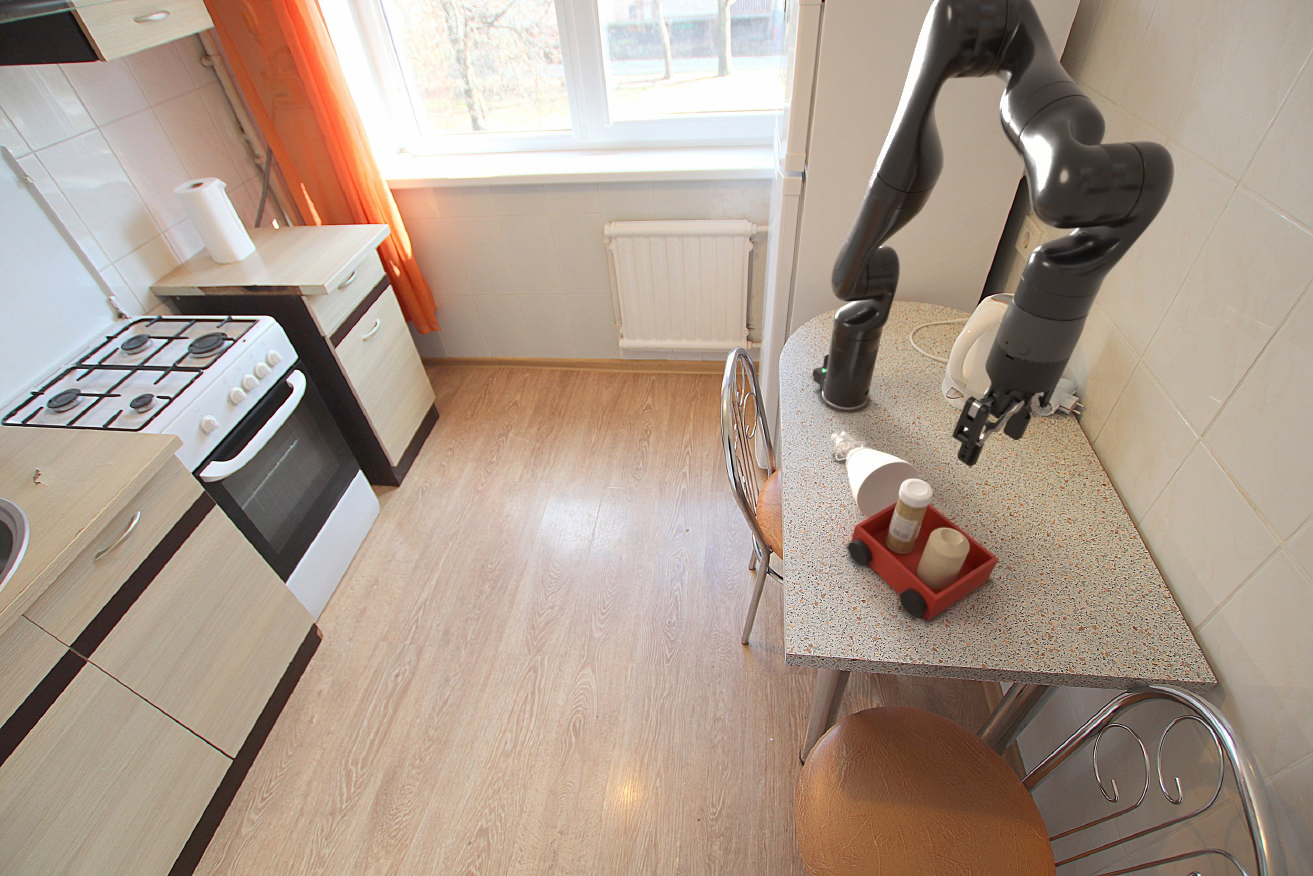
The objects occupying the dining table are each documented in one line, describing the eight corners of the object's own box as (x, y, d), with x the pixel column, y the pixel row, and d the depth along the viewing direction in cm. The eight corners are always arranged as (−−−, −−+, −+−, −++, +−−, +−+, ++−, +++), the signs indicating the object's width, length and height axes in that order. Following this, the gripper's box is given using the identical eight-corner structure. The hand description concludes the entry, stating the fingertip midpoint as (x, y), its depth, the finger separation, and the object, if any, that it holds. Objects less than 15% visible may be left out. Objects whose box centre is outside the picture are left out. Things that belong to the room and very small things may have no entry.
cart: (849, 547, 102) (855, 525, 98) (907, 514, 106) (914, 492, 102) (927, 621, 91) (936, 599, 87) (987, 580, 95) (999, 558, 92)
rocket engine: (840, 403, 114) (890, 450, 98) (881, 430, 119) (934, 479, 103) (801, 450, 117) (843, 503, 102) (842, 474, 122) (888, 529, 107)
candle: (959, 574, 96) (978, 533, 89) (945, 597, 93) (963, 557, 86) (925, 556, 99) (941, 515, 92) (910, 578, 96) (925, 538, 89)
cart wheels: (846, 553, 101) (850, 537, 98) (915, 513, 106) (920, 497, 103) (917, 622, 91) (924, 607, 88) (989, 574, 96) (998, 558, 94)
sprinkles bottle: (919, 546, 100) (940, 490, 91) (900, 560, 98) (919, 504, 89) (896, 529, 103) (914, 473, 94) (878, 541, 101) (894, 486, 92)
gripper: (1045, 305, 71) (1000, 412, 82) (960, 345, 66) (925, 453, 77) (1109, 334, 66) (1052, 444, 77) (1022, 379, 62) (975, 489, 72)
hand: (988, 448), depth 77 cm, fingers open, 8 cm apart
